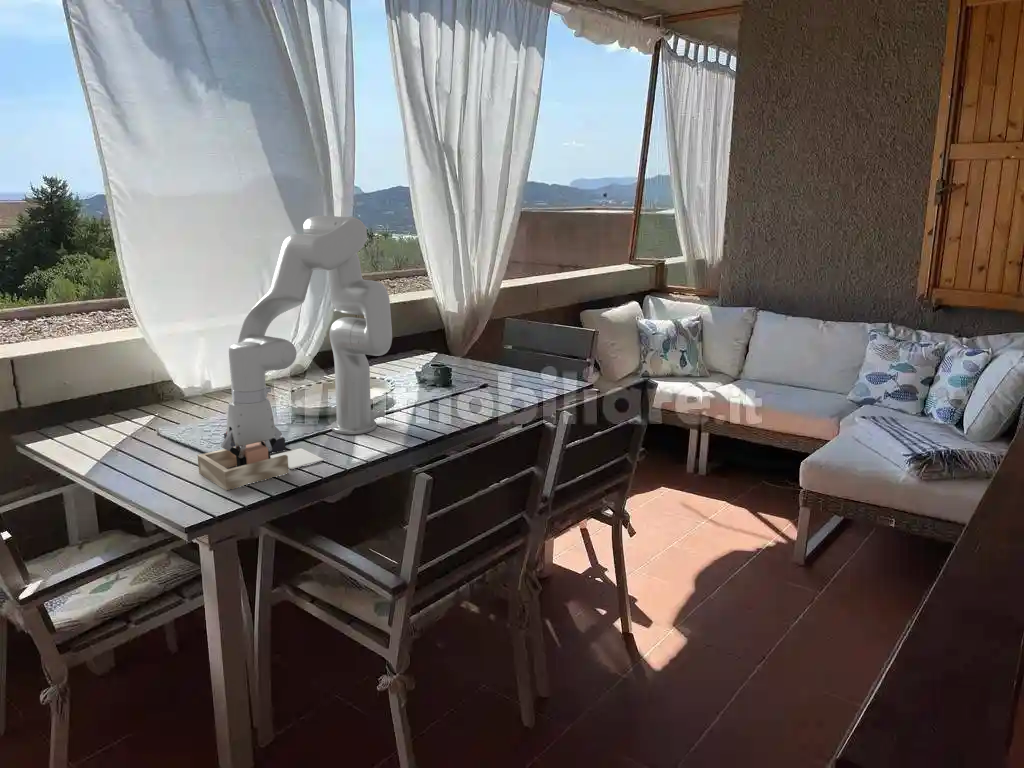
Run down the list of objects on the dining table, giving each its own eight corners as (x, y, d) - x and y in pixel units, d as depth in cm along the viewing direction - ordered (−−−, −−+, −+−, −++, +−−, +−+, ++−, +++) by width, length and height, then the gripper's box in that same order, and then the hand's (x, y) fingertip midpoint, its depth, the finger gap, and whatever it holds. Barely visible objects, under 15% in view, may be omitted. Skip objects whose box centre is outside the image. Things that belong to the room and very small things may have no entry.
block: (259, 465, 179) (257, 442, 177) (269, 471, 175) (267, 447, 174) (239, 470, 175) (237, 447, 174) (249, 476, 172) (247, 452, 170)
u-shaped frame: (259, 458, 183) (258, 441, 182) (288, 473, 174) (287, 456, 173) (199, 473, 173) (197, 455, 172) (226, 490, 163) (224, 472, 162)
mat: (300, 450, 190) (300, 448, 189) (323, 461, 182) (323, 459, 182) (268, 458, 183) (268, 456, 183) (290, 470, 176) (290, 468, 176)
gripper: (275, 386, 179) (279, 456, 183) (206, 398, 167) (212, 473, 172) (290, 392, 174) (294, 464, 178) (220, 405, 162) (226, 482, 167)
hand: (254, 468), depth 175 cm, fingers closed on block, 5 cm apart
